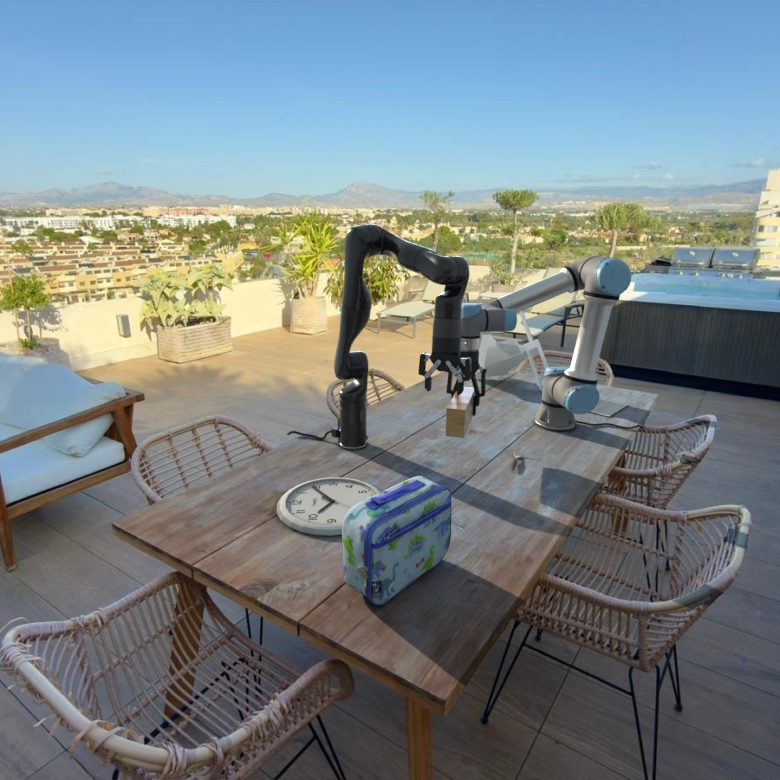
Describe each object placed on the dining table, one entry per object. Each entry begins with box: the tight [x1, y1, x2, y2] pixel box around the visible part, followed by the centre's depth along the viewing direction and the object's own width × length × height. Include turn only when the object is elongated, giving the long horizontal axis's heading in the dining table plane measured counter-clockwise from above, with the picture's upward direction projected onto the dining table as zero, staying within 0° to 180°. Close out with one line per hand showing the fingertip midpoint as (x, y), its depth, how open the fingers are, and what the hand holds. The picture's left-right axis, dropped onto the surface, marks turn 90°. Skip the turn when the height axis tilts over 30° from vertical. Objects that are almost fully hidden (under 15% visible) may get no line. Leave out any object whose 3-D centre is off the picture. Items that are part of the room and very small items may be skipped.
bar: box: [445, 386, 476, 439], centre depth 175 cm, size 24×6×9 cm, turn 164°
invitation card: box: [589, 397, 629, 418], centre depth 226 cm, size 21×1×15 cm
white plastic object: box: [475, 310, 549, 392], centre depth 257 cm, size 37×45×31 cm
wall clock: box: [276, 476, 382, 537], centre depth 142 cm, size 30×2×30 cm
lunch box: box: [341, 475, 453, 606], centre depth 111 cm, size 26×11×21 cm, turn 134°
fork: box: [512, 447, 523, 471], centre depth 171 cm, size 3×16×2 cm, turn 160°
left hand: (443, 392), depth 143 cm, fingers open, 8 cm apart
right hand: (464, 413), depth 184 cm, fingers closed on bar, 6 cm apart
